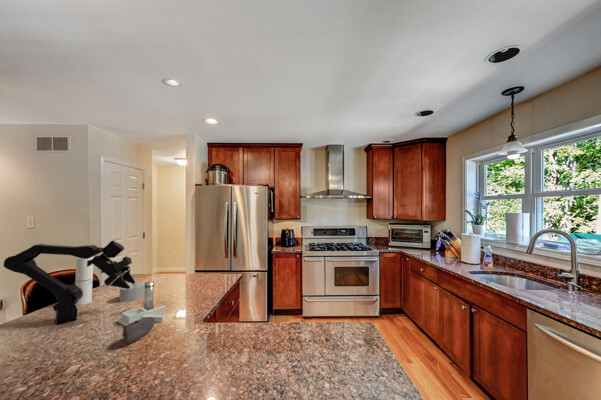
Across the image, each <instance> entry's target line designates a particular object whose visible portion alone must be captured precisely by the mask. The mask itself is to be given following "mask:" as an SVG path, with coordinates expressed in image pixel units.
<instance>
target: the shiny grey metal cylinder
mask: <svg viewBox="0 0 601 400" xmlns="http://www.w3.org/2000/svg"><path fill="white" fill-rule="evenodd" d="M144 283H145V296H144V301H143V303H144V304H143V308H144V309H146V310H151V309H154V297H155V295H154V294H155V281H152V280H151V281H146V282H144Z"/></svg>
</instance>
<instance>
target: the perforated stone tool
mask: <svg viewBox="0 0 601 400" xmlns="http://www.w3.org/2000/svg"><path fill="white" fill-rule="evenodd" d="M155 323H156V322H155V319H154V318H153V317H146V318H142V319H139V320H136V321H134V322H132V323H129V324H128V325H126V326H124V325H123V326H122V337H123V342H124V343H126V344H131V343H134V342H136V341H138V340H139V339H141V338H142V337H144V336H145V335H147V334H148V333H149V332H150V331H151V330H152V329H153V328H154V326H155Z"/></svg>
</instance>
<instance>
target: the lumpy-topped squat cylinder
mask: <svg viewBox="0 0 601 400" xmlns="http://www.w3.org/2000/svg"><path fill="white" fill-rule="evenodd" d="M126 283H127V284H128V285H129V286H130V288H129V289H125V288H121V287H119V302H120V303H130V302H134V301H135V302H136V301H138V300H141V299H143V298H144V296H145V283H146V282H144V281H135V283H134V284H132V283H129V282H126Z"/></svg>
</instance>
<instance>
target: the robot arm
mask: <svg viewBox="0 0 601 400" xmlns="http://www.w3.org/2000/svg"><path fill="white" fill-rule="evenodd" d="M124 250H125V247H124V246H123V244H121V243H119V242H117V241H115V240H111V241H109V242H108V244H107V245H105V246H104V247H100V246H99V247H98V246H97V245H94V244H89V245H77V246H69V245H56V244H44V243H38V244H34V245H32V246H30V247H29V248H27V249H25V250H22V251H21V252H19V253H17V254H15V255H11V256H8V257H6V258H5V259H4V261H3V265H2V266H3V267H4V268H5V269H7V270H8V271H11V272H14V273H17V274H23V275H25V276H27V278H30V280H33V281H34V282H36V283H37V284H39V285H41V286H42V287H43V288H45V289H47V290H48V291H50V292H51V293H53V294H54V296H55V298H56V300H57V301H58V302H57V303H56V304H55V305H53V306H52V309H53V311H54V312H55V320H53V322H54V323H55V324H56V325H58V326H59V325H63V324H66V323H70V322H74V321H77V320H78V307H77V305H75V304H76V303H77V302H78V300H79V299H81V298H82V296H83V291H82V290H80V289H82V288H79V287H77V286H76V285H75V283H72V284H70V285H67V284H65V283H64V282H62V281H61V280H60V279H58V278H56V277H55V276H53V275H52V274H50V273H48V272H47V271H46V270H44V269H42V268H41V267H40V266H38V264H37V263H36V261H35V258H37V257H39V256H40V255H41V254H42V255H45V254H46V255H57V256H59V255H60V256H63V255H64V256H71V257H74V258H77V257H78V258H83V259H88V258H91V257H93V256H94V258H93V259H92V260H88V261H87V267H88V266H90V265H92V264H93V266H95V267H96V268H97V269H98V270H100V274H105V275H106V276H107V278H106V279H104V282H103V284H104V285H105V286H107V287H108V286H109V287H117V288H125V289H129V288H130V286H129V285H128V284H127V283H132V284H134V283H135V282H136V281H135V279H134V278H133V276H132V274H131V270H132V269H131V268H132V267H131V266H130V265H131V264H133V262H132V258H131V257H128V256H124V257H122V260H120V261H118V262H117V261H116V260H114V261H113V260H111V258H113V259H115V258H116V257H118V255H119V254H120V253H122V252H123V251H124ZM98 254H99V255H98Z"/></svg>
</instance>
